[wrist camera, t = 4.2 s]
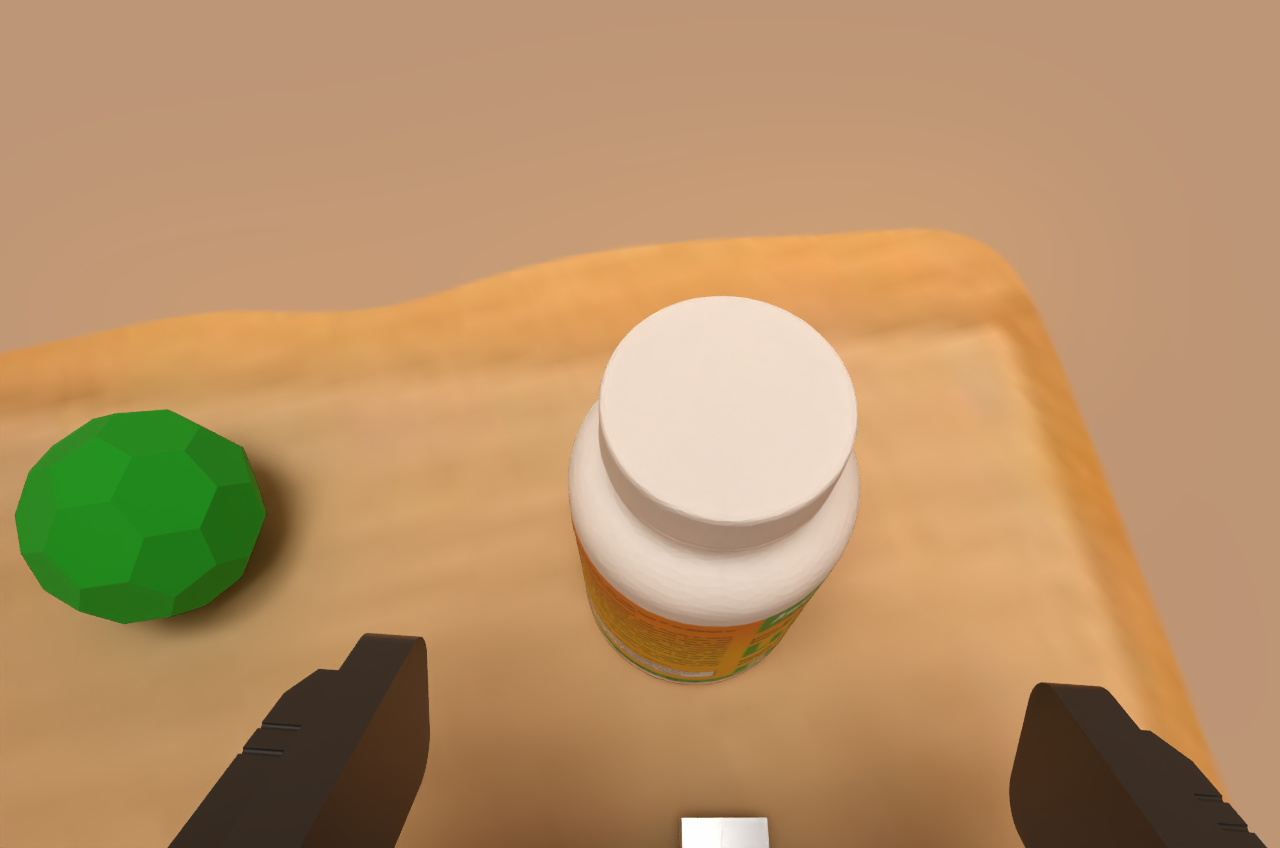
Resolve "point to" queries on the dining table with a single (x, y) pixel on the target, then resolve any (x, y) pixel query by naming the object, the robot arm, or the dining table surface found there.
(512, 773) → the dining table surface
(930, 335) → the dining table surface
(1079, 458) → the dining table surface
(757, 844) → the sprocket plate
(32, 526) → the polyhedron
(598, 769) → the dining table surface
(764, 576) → the supplement bottle
